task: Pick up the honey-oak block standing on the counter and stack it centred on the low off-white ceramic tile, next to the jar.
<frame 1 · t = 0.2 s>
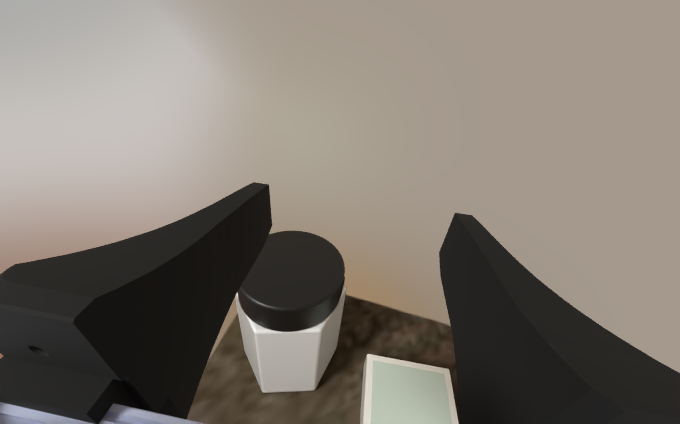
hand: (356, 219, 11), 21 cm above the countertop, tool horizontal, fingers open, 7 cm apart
tile base: (404, 418, 24), on the countertop
jar: (291, 350, 28), on the countertop
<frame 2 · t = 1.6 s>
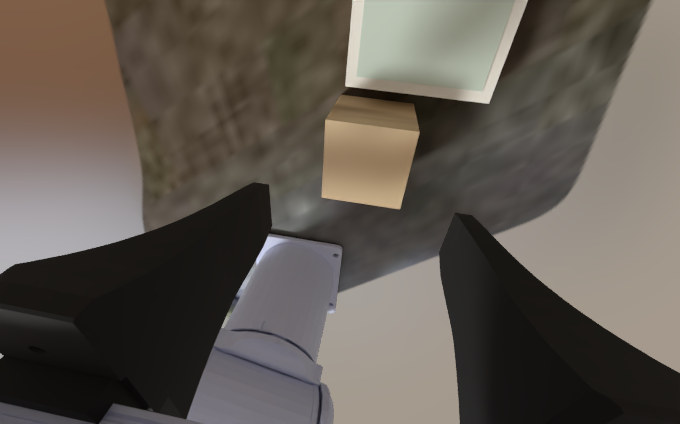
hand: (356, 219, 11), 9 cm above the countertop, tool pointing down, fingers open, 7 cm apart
tile base: (430, 7, 14), on the countertop
oak block: (371, 134, 19), on the countertop
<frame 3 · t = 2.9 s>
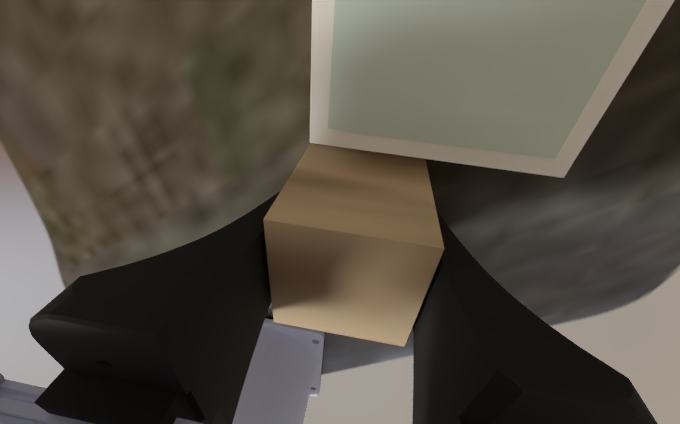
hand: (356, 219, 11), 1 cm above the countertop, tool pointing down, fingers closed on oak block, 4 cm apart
tile base: (459, 5, 8), on the countertop
oak block: (359, 199, 12), on the countertop, touching gripper
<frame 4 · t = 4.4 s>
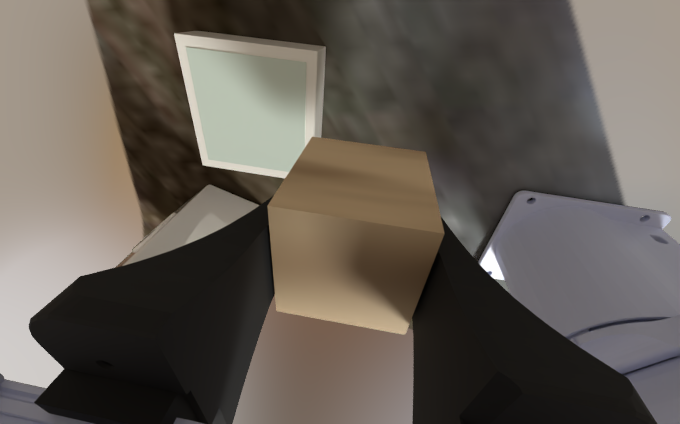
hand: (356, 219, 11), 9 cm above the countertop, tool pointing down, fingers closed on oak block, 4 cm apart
tile base: (265, 106, 18), on the countertop
oak block: (361, 192, 12), point 7 cm above the countertop, touching gripper
jar: (230, 226, 25), on the countertop
when the fingers open (5 cm above the countertop, at t = 6.1 s): oak block stays where it is, resting on tile base.
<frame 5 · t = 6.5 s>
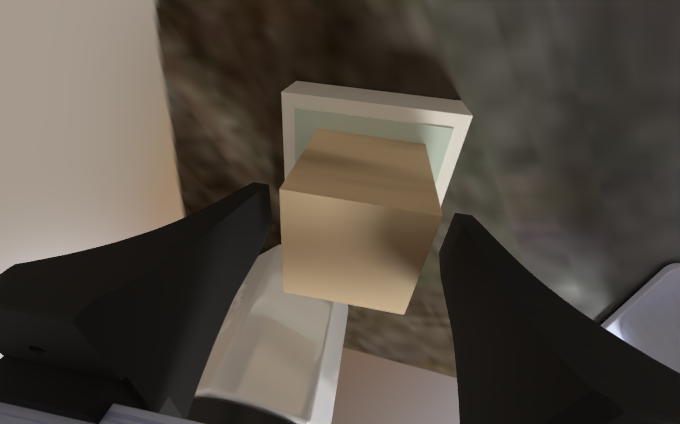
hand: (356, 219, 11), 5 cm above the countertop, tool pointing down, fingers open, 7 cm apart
tile base: (366, 165, 15), on the countertop
oak block: (363, 182, 13), point 2 cm above the countertop, touching tile base
jar: (296, 284, 22), on the countertop
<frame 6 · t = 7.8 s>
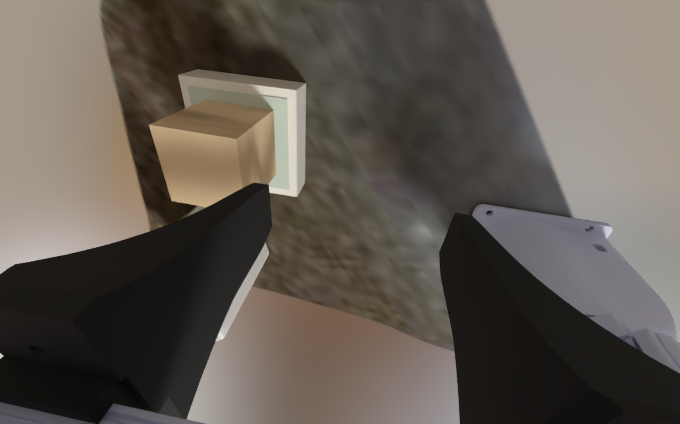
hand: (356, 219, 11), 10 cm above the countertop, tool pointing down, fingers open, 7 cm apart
tile base: (256, 131, 21), on the countertop
oak block: (242, 139, 19), point 2 cm above the countertop, touching tile base
jar: (228, 233, 28), on the countertop
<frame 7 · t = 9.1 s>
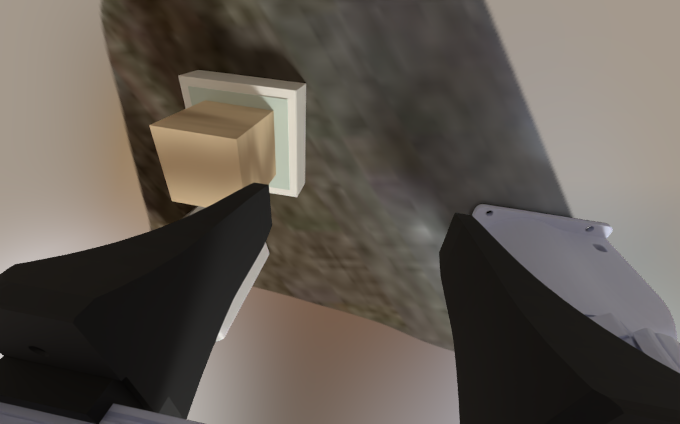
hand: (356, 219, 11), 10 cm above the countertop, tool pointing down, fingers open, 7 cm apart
tile base: (256, 131, 21), on the countertop
oak block: (242, 139, 19), point 2 cm above the countertop, touching tile base
jar: (228, 233, 28), on the countertop
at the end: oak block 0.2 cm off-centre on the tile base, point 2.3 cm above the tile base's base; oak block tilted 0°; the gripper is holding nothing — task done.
